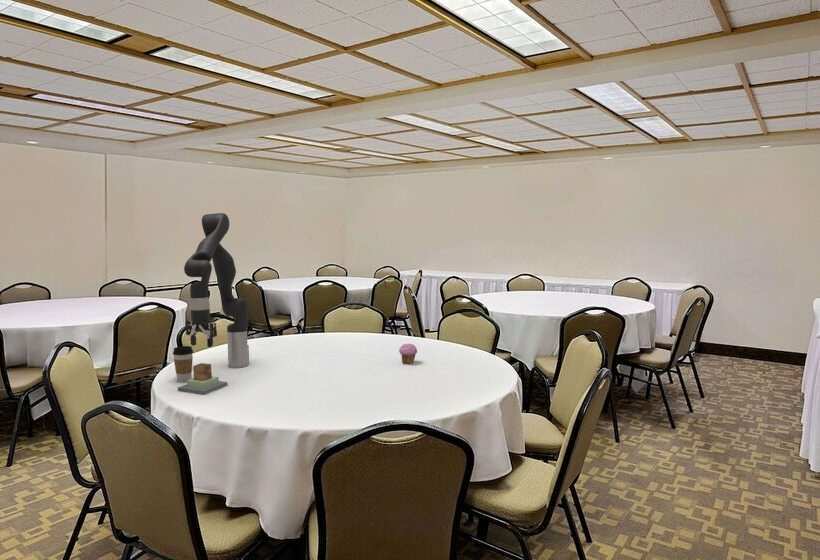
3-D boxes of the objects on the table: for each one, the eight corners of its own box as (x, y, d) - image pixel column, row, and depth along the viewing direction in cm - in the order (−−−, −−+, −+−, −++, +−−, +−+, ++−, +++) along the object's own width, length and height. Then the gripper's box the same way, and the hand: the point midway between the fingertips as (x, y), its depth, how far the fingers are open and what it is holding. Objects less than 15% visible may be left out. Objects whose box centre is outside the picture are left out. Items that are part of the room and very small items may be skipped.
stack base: (201, 381, 243) (201, 372, 243) (227, 385, 238) (227, 376, 237) (177, 390, 230) (177, 381, 230) (204, 394, 225) (204, 385, 224)
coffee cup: (172, 383, 240) (171, 349, 239) (175, 378, 248) (173, 345, 247) (193, 382, 242) (191, 348, 241) (195, 376, 251) (194, 344, 249)
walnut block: (202, 376, 237) (201, 363, 236) (211, 377, 235) (211, 364, 234) (193, 379, 232) (193, 365, 231) (203, 381, 230) (202, 367, 230)
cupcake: (396, 364, 274) (396, 344, 273) (404, 360, 281) (404, 340, 280) (412, 366, 270) (412, 346, 269) (420, 362, 277) (420, 342, 276)
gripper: (220, 307, 231) (221, 345, 233) (193, 305, 236) (195, 342, 238) (207, 310, 224) (209, 349, 226) (179, 308, 229) (181, 346, 231)
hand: (201, 346), depth 232 cm, fingers open, 8 cm apart
